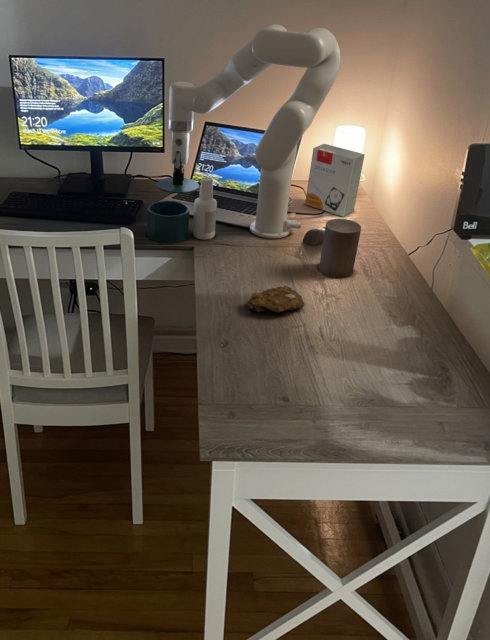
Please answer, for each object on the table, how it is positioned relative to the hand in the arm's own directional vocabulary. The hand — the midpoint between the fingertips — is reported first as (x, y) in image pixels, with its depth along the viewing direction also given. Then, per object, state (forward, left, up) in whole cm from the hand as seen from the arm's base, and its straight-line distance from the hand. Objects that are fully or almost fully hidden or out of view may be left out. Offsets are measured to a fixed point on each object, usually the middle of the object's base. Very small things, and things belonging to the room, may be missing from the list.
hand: (178, 182), depth 218 cm
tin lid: (0, 0, -1) cm, 1 cm away
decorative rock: (-30, +58, -11) cm, 66 cm away
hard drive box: (-51, -14, -11) cm, 54 cm away
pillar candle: (-48, +34, -11) cm, 60 cm away
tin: (+1, +17, -11) cm, 20 cm away
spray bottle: (-10, +16, -11) cm, 22 cm away
